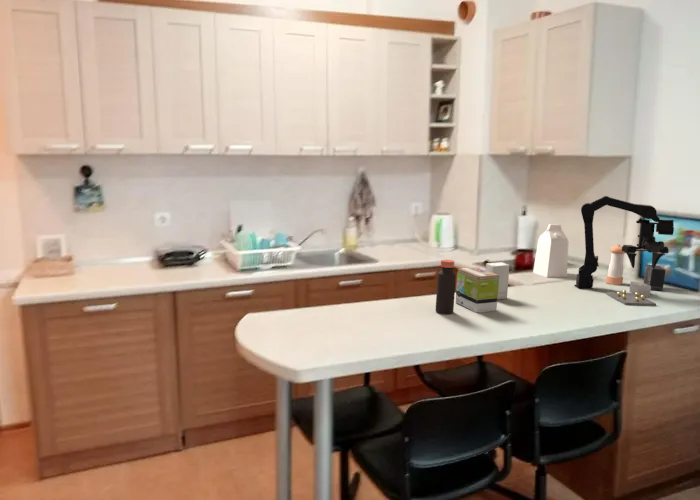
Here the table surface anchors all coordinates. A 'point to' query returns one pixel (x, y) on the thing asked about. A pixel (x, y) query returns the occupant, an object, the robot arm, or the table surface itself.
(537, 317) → the table surface
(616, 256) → the pepper shaker
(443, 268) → the bottle
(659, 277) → the small box
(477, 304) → the tea box
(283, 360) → the table surface
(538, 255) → the milk
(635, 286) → the block
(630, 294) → the pin tray
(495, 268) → the skincare box
